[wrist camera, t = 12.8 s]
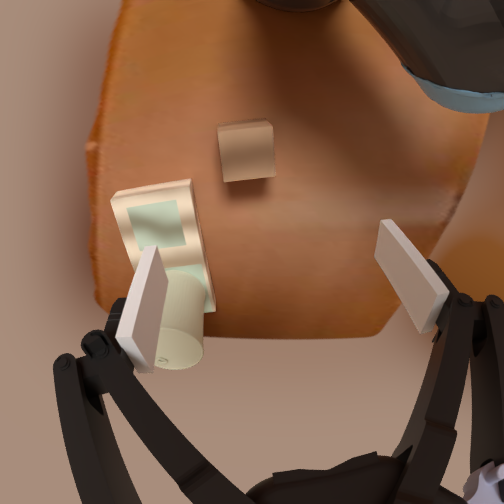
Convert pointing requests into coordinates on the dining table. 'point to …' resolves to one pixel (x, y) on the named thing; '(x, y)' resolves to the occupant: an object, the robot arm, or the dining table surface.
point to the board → (165, 229)
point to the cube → (246, 149)
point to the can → (181, 322)
